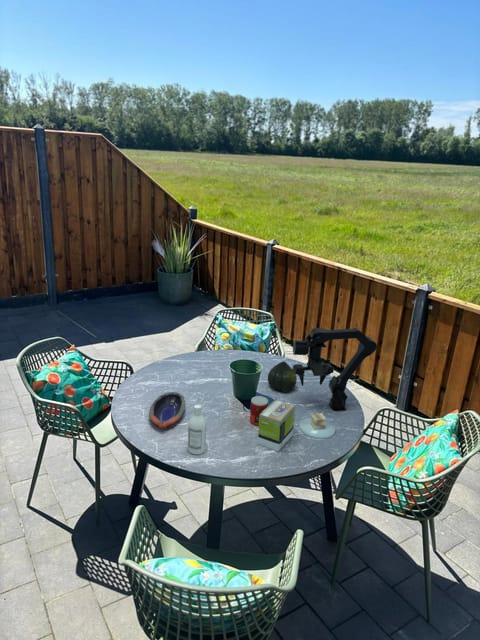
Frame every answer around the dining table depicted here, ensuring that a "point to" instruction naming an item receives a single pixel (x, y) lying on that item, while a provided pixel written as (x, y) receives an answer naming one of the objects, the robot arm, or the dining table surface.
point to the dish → (167, 410)
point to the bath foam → (197, 432)
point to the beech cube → (318, 421)
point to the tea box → (276, 425)
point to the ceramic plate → (318, 434)
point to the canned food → (257, 408)
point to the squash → (282, 377)
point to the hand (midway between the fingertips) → (311, 385)
